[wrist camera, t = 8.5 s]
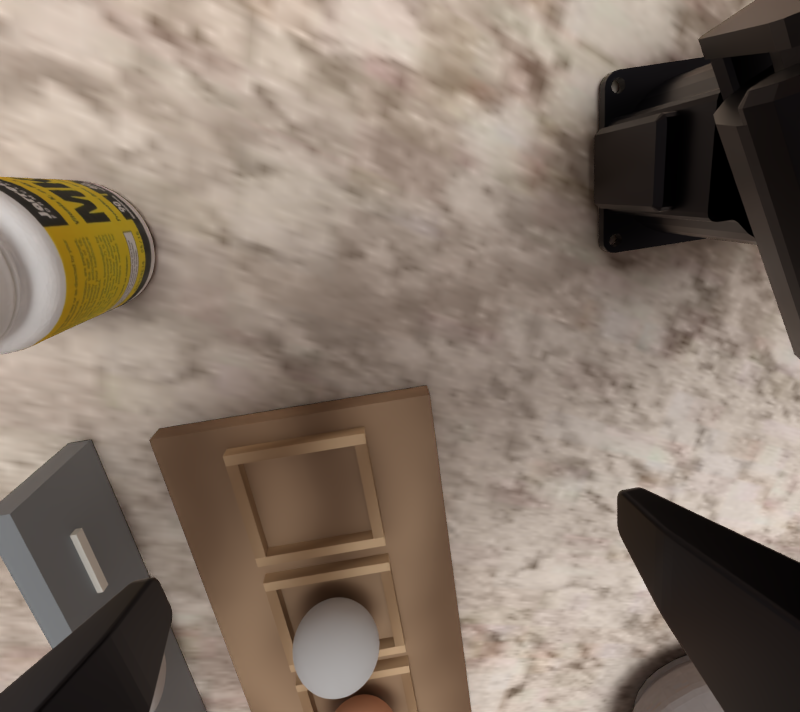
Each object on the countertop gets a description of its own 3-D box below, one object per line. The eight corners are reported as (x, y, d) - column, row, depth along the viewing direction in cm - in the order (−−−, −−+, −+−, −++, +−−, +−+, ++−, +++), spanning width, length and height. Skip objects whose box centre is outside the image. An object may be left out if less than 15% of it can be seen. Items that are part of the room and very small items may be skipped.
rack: (426, 385, 21) (431, 400, 19) (469, 712, 28) (476, 741, 27) (159, 428, 20) (143, 447, 19) (274, 747, 28) (269, 778, 26)
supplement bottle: (164, 199, 17) (-2, 204, 9) (153, 317, 19) (2, 408, 11) (24, 164, 17) (-280, 139, 9) (25, 290, 18) (-237, 366, 10)
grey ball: (371, 572, 23) (373, 647, 19) (383, 630, 24) (387, 712, 20) (290, 586, 23) (276, 664, 19) (307, 644, 24) (297, 728, 20)
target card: (97, 438, 20) (18, 512, 16) (230, 755, 28) (203, 869, 23) (68, 443, 20) (-20, 519, 16) (208, 759, 28) (177, 874, 23)
